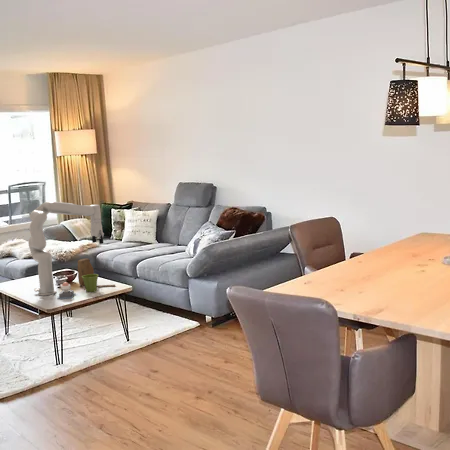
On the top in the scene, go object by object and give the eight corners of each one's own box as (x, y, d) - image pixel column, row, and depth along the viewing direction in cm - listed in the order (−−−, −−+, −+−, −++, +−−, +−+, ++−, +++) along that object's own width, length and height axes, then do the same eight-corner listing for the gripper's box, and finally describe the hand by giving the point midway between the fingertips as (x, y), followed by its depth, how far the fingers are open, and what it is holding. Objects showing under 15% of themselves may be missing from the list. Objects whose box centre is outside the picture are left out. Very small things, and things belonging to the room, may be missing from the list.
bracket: (94, 287, 403) (94, 286, 403) (95, 286, 406) (95, 285, 405) (114, 286, 403) (114, 285, 403) (115, 285, 406) (115, 284, 406)
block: (82, 286, 407) (80, 260, 404) (78, 285, 413) (75, 259, 410) (95, 284, 414) (93, 258, 411) (91, 282, 420) (88, 257, 417)
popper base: (57, 299, 377) (57, 294, 376) (61, 295, 387) (61, 290, 386) (72, 298, 377) (71, 293, 376) (75, 294, 387) (75, 289, 386)
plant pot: (103, 289, 397) (101, 274, 395) (91, 293, 387) (89, 278, 385) (91, 288, 403) (90, 273, 401) (79, 292, 393) (78, 276, 391)
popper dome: (60, 294, 378) (59, 283, 377) (62, 292, 384) (61, 281, 383) (69, 294, 378) (68, 283, 377) (72, 291, 385) (71, 280, 383)
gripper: (85, 220, 417) (87, 242, 419) (98, 222, 405) (99, 245, 407) (94, 219, 422) (96, 241, 424) (106, 221, 410) (108, 243, 412)
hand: (97, 243), depth 416 cm, fingers open, 9 cm apart
